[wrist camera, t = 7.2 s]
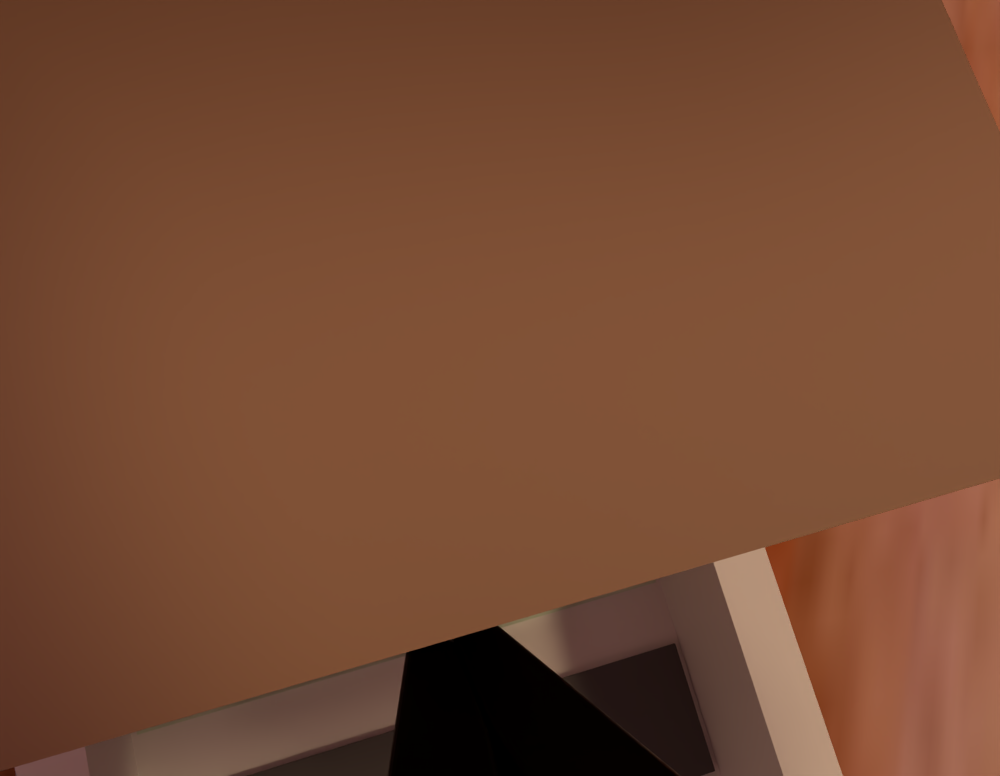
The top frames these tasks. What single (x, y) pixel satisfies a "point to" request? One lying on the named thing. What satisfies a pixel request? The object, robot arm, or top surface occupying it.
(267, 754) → the box
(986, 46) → the top surface
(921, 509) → the top surface
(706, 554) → the walnut block
